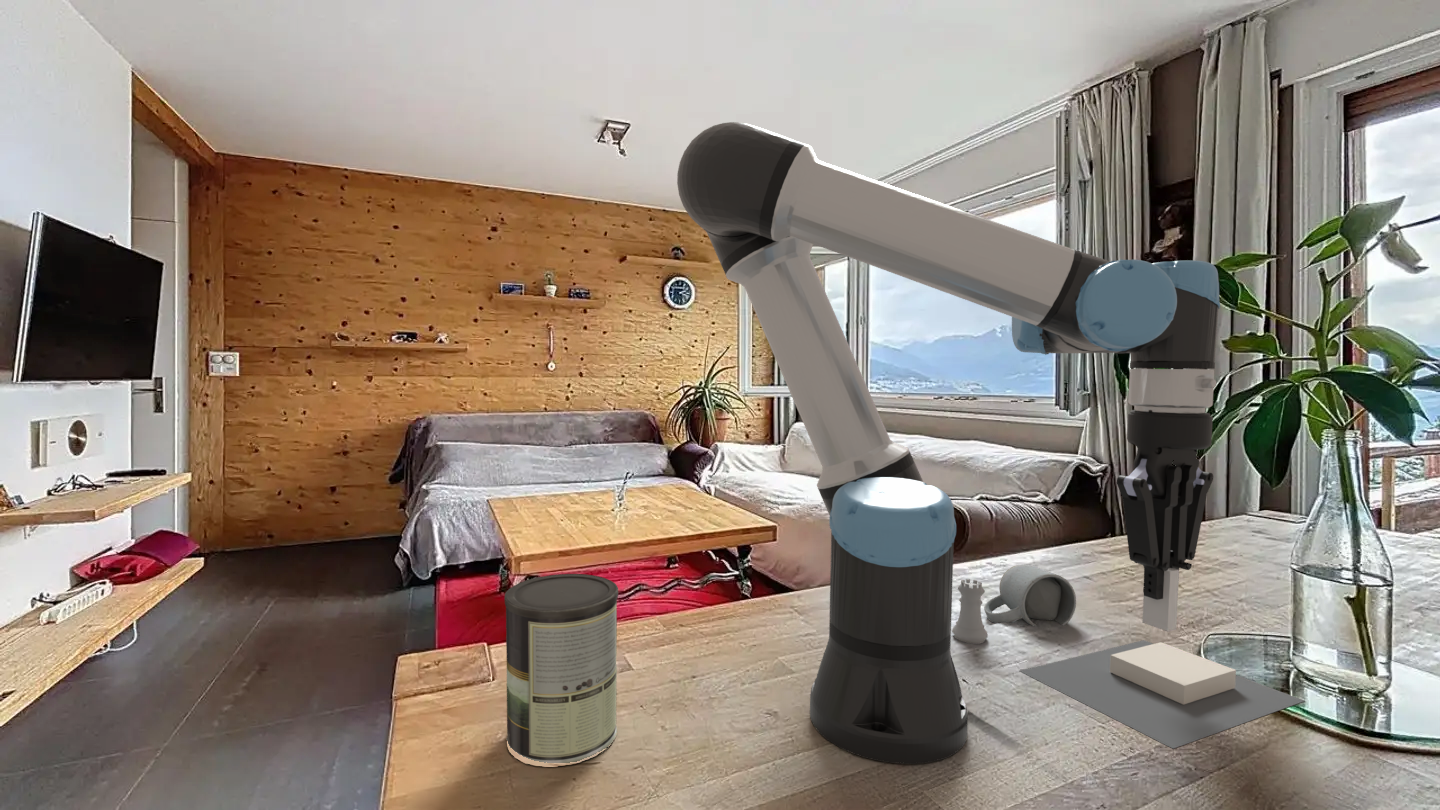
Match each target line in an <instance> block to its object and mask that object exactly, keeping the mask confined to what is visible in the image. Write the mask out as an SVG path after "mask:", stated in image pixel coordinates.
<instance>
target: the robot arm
mask: <svg viewBox="0 0 1440 810" xmlns="http://www.w3.org/2000/svg"><path fill="white" fill-rule="evenodd" d="M814 151H815V150H814V149H813V147H812V146H811V145H809V144H807V143H804V142H800V141H798V140H794V139H793V138H789V137H787V136H784V135H781V134H779V133H776V132H774V131H770V130H767V129H764V128H761V127H759V126H755V125H752V124H749V123H745V122H739V121H736V122H735V121H731V122H722V123H719V124H714V125H712V126H710V127H708V128H706V129H704V130H702V131H701V132H700V133H699V134H698V135H697V136H695V137H694V138H693V139H691V141H690V142H689V144H688V146H686V149H685V150H684V152H683V154H682V155H681V158H680V160H679V164H678V170H677V177H676V178H677V181H676V183H677V184H676V185H677V189H678V195H679V198H680V201H681V205H682V206H683V208H684V210H685V212H686V213H687V214H688V216H689V217H690V218H691V219H692V221H694V222H695V224H697V226H699V227H700V228H701V229H702V230H704V231H705V233H706V234H707V236H708V238H709V240H710V242H711V244H712V247H713V249H714V251H715V253H716V257H717V258H718V261H719V263H720V265H721V268H722V270H723V272H724V274H725V275H724V276H725V277H726V279H727V281H728V280H729V281H731V282H734V283H737V284H739V285H741V286H743V287H744V289H745V291H746V293H747V296H748V299H749V301H750V304H751V305H752V308H753V310H754V313H755V314H756V318H757V319H758V322H759V324H760V326H761V329H762V331H763V332H764V335H765V338H766V339H767V342H768V344H769V347H770V350H771V351H772V354H773V356H774V358H775V360H776V363H777V365H778V368H779V369H780V373H781V374H782V376H783V377H782V378H783V379H784V381H785V383H786V386H787V388H788V390H789V393H790V395H791V398H792V400H793V403H794V404H795V407H796V409H797V412H798V414H799V415H800V416H799V417H800V418H801V421H802V423H803V425H804V427H805V430H806V433H807V434H808V437H809V440H810V441H811V444H812V446H813V448H814V451H815V453H816V456H817V457H818V460H819V462H820V465H821V466H822V467H821V468H822V469H821V473H820V475H819V478H818V481H817V484H816V486H817V487H816V488H817V489H818V492H819V493H820V497H821V500H822V501H823V503H824V506H825V508H826V511H827V513H828V515H829V518H828V520H829V522H828V523H829V528H830V530H831V531H830V533H831V534H830V535H831V536H830V573H829V574H830V577H829V578H830V579H829V580H830V581H829V582H830V584H829V623H828V624H829V627H828V630H829V631H828V641H827V645H826V646H825V649H824V652H823V655H822V658H821V661H820V664H819V668H818V671H817V673H816V677H815V680H814V681H813V683H812V686H811V687H810V694H809V695H810V699H809V702H810V704H809V717H810V720H811V723H812V725H813V726H814V728H815V729H816V731H817V732H818V733H819V734H821V736H822V737H824V738H825V739H826V740H827V741H829V742H830V743H832V745H835V746H837V747H838V748H841V749H842V750H844V751H845V752H846V751H847V752H849V753H851V754H854V755H857V756H859V757H862V758H865V759H870V760H873V761H874V760H875V761H879V762H885V763H892V764H903V765H904V764H907V765H908V764H909V765H910V764H911V765H912V764H925V763H932V762H936V761H941V760H944V759H946V758H948V757H951V756H953V755H954V754H956V753H957V752H959V751H960V750H961V749H962V748H963V746H964V745H965V743H966V741H967V738H968V720H969V719H968V718H969V714H968V707H967V704H966V700H965V699H964V697H963V694H962V693H963V692H962V689H961V685H960V681H959V677H958V674H957V671H956V667H955V663H954V661H953V658H952V652H951V640H952V639H951V637H952V636H951V635H952V634H951V633H952V610H953V609H952V608H953V607H952V606H953V604H952V601H953V576H954V575H953V573H954V572H953V570H954V543H955V538H956V536H957V523H956V518H955V508H954V504H953V501H952V499H951V498H950V497H949V495H948V494H947V493H946V492H945V491H943V490H942V489H940V488H939V487H936V486H934V485H928V484H927V483H926V482H924V480H923V478H922V475H921V473H920V471H919V468H918V466H917V464H916V463H915V460H914V459H913V456H912V453H911V451H910V449H909V448H908V447H906V446H905V445H902V444H899V443H897V442H894V441H893V440H891V439H890V436H889V434H888V432H887V429H886V426H885V425H884V423H883V420H882V417H881V416H880V414H879V411H878V409H877V407H876V404H875V402H874V400H873V398H872V397H873V396H871V393H870V391H869V389H868V388H869V387H867V386H868V385H867V384H866V382H865V379H864V376H863V374H862V372H861V371H860V368H859V365H858V363H857V360H856V359H855V355H854V354H853V352H852V350H851V347H850V345H849V343H848V340H847V339H846V336H845V333H844V331H843V329H842V327H841V324H840V323H839V320H838V317H837V315H836V313H835V310H834V309H833V306H832V304H831V301H830V299H829V297H828V295H827V293H826V291H825V288H824V286H823V284H822V281H821V279H820V276H819V273H817V270H816V268H815V266H814V263H813V261H812V258H811V257H810V256H811V251H812V248H813V246H814V245H816V246H818V247H820V248H823V249H826V250H828V251H831V252H835V253H837V254H840V255H842V256H845V257H848V258H851V259H853V260H856V261H859V262H862V263H864V264H867V265H869V266H872V267H874V268H875V267H876V268H878V269H880V270H883V271H886V272H889V273H891V274H895V275H897V276H900V277H903V278H905V279H908V280H911V281H913V282H916V283H919V284H921V285H924V286H927V287H930V288H932V289H935V290H938V291H940V292H944V293H946V294H949V295H951V296H954V297H957V298H959V299H962V300H965V301H967V302H971V303H973V304H976V305H979V306H982V307H984V308H987V309H990V310H992V311H996V312H999V313H1000V314H1003V315H1006V316H1008V317H1011V336H1012V342H1013V345H1014V347H1015V348H1016V349H1017V350H1018V351H1019V352H1022V353H1030V354H1033V353H1034V354H1035V353H1036V354H1042V355H1045V356H1046V355H1049V354H1111V353H1112V354H1129V355H1130V362H1129V381H1128V397H1127V403H1128V404H1129V405H1130V406H1133V407H1134V408H1133V409H1132V410H1130V411H1129V412H1128V413H1127V429H1126V430H1127V431H1126V439H1127V442H1128V443H1129V444H1131V445H1134V446H1136V448H1137V452H1136V455H1135V457H1134V458H1135V459H1134V460H1133V469H1134V470H1133V471H1132V472H1131V473H1130V474H1129V475H1121V474H1120V475H1118V476H1117V478H1116V485H1117V487H1118V489H1119V492H1120V494H1121V497H1122V505H1123V506H1122V507H1123V512H1124V522H1125V530H1126V532H1125V533H1126V538H1127V548H1128V554H1129V560H1130V561H1132V562H1134V563H1135V564H1138V565H1142V566H1143V584H1142V585H1143V590H1142V591H1143V598H1142V599H1143V600H1142V601H1143V602H1142V603H1143V604H1142V620H1141V621H1142V624H1145V625H1148V626H1150V627H1154V628H1156V629H1159V630H1162V631H1165V632H1172V631H1176V630H1177V622H1178V621H1177V618H1178V599H1179V597H1178V596H1179V584H1180V583H1179V582H1180V581H1179V580H1180V579H1179V578H1180V569H1182V570H1186V571H1190V569H1191V568H1192V566H1193V563H1190V562H1185V561H1186V560H1187V561H1193V560H1194V558H1195V556H1196V551H1197V546H1198V541H1199V536H1200V532H1201V526H1202V522H1203V517H1204V510H1205V505H1206V500H1207V496H1208V492H1209V490H1210V487H1211V485H1212V483H1213V482H1214V474H1213V473H1212V472H1211V471H1209V472H1208V471H1203V470H1201V468H1200V458H1199V455H1198V456H1196V454H1198V450H1205V449H1208V448H1209V447H1210V446H1212V438H1213V437H1212V435H1213V434H1212V433H1213V419H1214V418H1213V416H1211V413H1210V412H1206V409H1208V408H1211V407H1212V406H1213V405H1214V388H1215V387H1216V386H1217V380H1216V379H1215V369H1216V368H1215V367H1216V362H1215V359H1216V358H1215V357H1216V345H1217V344H1216V343H1217V334H1218V333H1217V332H1218V321H1219V310H1220V308H1221V302H1220V282H1219V273H1218V268H1216V266H1215V265H1214V264H1213V263H1210V262H1208V261H1204V260H1191V259H1190V260H1188V259H1187V260H1174V261H1173V260H1172V261H1160V262H1159V261H1158V262H1153V263H1151V262H1149V261H1145V260H1141V259H1118V260H1111V261H1110V260H1107V259H1104V258H1102V257H1098V256H1095V255H1092V254H1089V253H1086V252H1083V251H1079V250H1076V249H1073V248H1071V247H1068V246H1065V245H1062V244H1060V243H1056V242H1053V241H1050V240H1048V239H1045V238H1042V237H1039V236H1036V235H1034V234H1031V233H1028V232H1025V231H1023V230H1019V229H1017V228H1014V227H1011V226H1007V225H1005V224H1002V223H999V222H996V221H994V220H991V219H988V218H985V217H982V216H979V215H976V214H973V213H971V212H968V211H964V210H962V209H959V208H956V207H953V206H951V205H947V204H945V203H942V202H939V201H936V200H933V199H931V198H927V197H924V196H922V195H919V194H917V193H916V194H915V193H912V192H910V191H907V190H904V189H901V188H899V187H895V186H893V185H890V184H887V183H884V182H882V181H878V180H876V179H872V178H869V177H866V176H865V175H861V174H858V173H855V172H853V171H851V170H847V169H844V168H841V167H840V166H839V167H838V166H836V165H834V164H833V165H832V164H830V163H826V162H824V161H822V160H820V159H818V158H817V156H816V153H815V152H814ZM1197 457H1198V458H1199V459H1196V458H1197ZM1173 460H1174V461H1173ZM1172 461H1173V465H1176V466H1173V465H1172Z"/></svg>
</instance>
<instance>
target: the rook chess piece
mask: <svg viewBox="0 0 1440 810" xmlns="http://www.w3.org/2000/svg"><path fill="white" fill-rule="evenodd" d="M957 590H958V592H959V593H960V597H959V598H958V599H959V603H960V610H959V615H958V616H959V617H958V619H957V620H956V622H955V625H953V626H952V629H951V633H953V636H954V638H955V639H956V640H958V641H959V642H963V643H967V644H974V645H975V644H977V645H978V644H984V642H986V639H987V638H988V636H989V635H988V631H987V630H986V628H985V625H984V623H983V620H982V611H981V609H982V607H981V606H982V605H983V601H982V596H983V595H984V594H985V589H984V588H983V584H982V581H978V580H976V579H973V580H972V582H971V579H970V578H966V579H961V581H960V584H959V585H958V587H957Z"/></svg>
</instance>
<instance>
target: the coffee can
mask: <svg viewBox="0 0 1440 810" xmlns="http://www.w3.org/2000/svg"><path fill="white" fill-rule="evenodd" d="M618 597H619V587H618V585H617V584H616V583H615V582H614V581H612V580H611V579H609V578H605V577H604V576H599V575H592V574H586V573H559V574H556V573H555V574H548V575H543V576H539V577H533V578H530V579H527V580H524V581H521V582H519V583H517V584H515V585H513V586H511V587H510V588H508V590H507V591H505V593H504V605H505V621H506V622H505V629H506V630H505V631H506V634H505V635H506V637H505V639H506V644H505V645H506V646H505V648H506V740H507V741H508V744H509V746H510V748H512V749H513V750H514V751H515V752H517V753H518V754H519V755H522V756H523V757H526V758H528V759H531V760H534V761H539V762H544V763H546V762H547V763H570V762H577V761H580V760H582V759H584V758H587V757H590V756H592V755H594V754H596V753H597V752H600V751H602V750H603V749H605V748H606V747H608V746H609V745H610V744H611V743H612V742H613V743H614V741H615V740H614V739H616V737H617V735H616V733H617V734H618V727H617V695H618V693H617V652H618V651H617V648H618V646H617V641H618V640H617V636H618V635H617V632H618V630H617V629H618V627H617V625H618V622H617V621H618V620H617V619H618V616H617V615H618V614H617V609H618V607H617V602H618V601H617V600H618ZM615 736H616V737H615ZM613 740H614V741H613ZM613 743H612V744H613ZM612 744H611V745H612ZM608 748H609V747H608Z"/></svg>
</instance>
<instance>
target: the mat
mask: <svg viewBox="0 0 1440 810" xmlns="http://www.w3.org/2000/svg"><path fill="white" fill-rule="evenodd" d="M1152 644H1154V643H1152V642H1150V641H1148V640H1145V639H1143V640H1138V641H1134V642H1130V643H1127V644H1123V645H1119V646H1114V647H1109V648H1106V649H1103V650H1098V651H1094V652H1091V653H1086V654H1082V655H1078V656H1074V657H1071V658H1066V659H1062V660H1061V659H1060V660H1058V661H1053V662H1050V663H1046V664H1042V665H1037V666H1034V667H1030V668H1025V669H1021V670H1019V672H1020V673H1022V674H1024V675H1026V676H1028V677H1029V678H1031V679H1034V680H1036V681H1038V682H1040V683H1042V684H1043V685H1046V686H1047V687H1050V688H1051V689H1053V690H1055V691H1058V693H1059V692H1060V693H1062V694H1063V695H1065V696H1067V697H1069V698H1071V699H1073V700H1076V701H1078V702H1079V703H1081V704H1083V705H1085V706H1087V707H1089V708H1091V709H1092V710H1095V711H1097V712H1099V713H1101V714H1103V715H1105V716H1106V717H1109V718H1110V719H1111V718H1112V719H1113V720H1115V721H1117V722H1118V723H1121V724H1123V725H1125V726H1126V727H1129V728H1131V729H1132V730H1134V731H1137V732H1139V733H1141V734H1143V735H1144V736H1146V737H1149V738H1150V739H1152V740H1155V741H1157V742H1158V743H1161V744H1162V745H1164V746H1166V747H1168V748H1170V749H1172V750H1175V749H1177V748H1180V747H1182V746H1185V745H1188V744H1191V743H1194V742H1196V741H1199V740H1201V739H1204V738H1208V737H1211V736H1212V735H1215V734H1218V733H1222V732H1224V731H1227V730H1229V729H1232V728H1236V727H1237V726H1240V725H1243V724H1245V723H1248V722H1252V721H1254V720H1257V719H1259V718H1263V717H1265V716H1268V715H1271V714H1273V713H1276V712H1279V711H1282V710H1285V709H1287V708H1290V707H1293V706H1295V705H1298V704H1301V703H1304V702H1305V700H1304V699H1301V698H1299V697H1297V696H1294V695H1291V694H1288V693H1285V692H1282V691H1281V690H1277V689H1275V688H1272V687H1269V686H1266V685H1264V684H1262V683H1259V682H1256V681H1254V680H1251V679H1248V678H1245V677H1243V676H1240V675H1238V674H1236V680H1235V688H1234V689H1231V690H1227V691H1224V692H1221V693H1218V694H1215V695H1212V696H1209V697H1206V698H1203V699H1199V700H1196V701H1193V702H1190V703H1187V704H1184V705H1183V704H1181V703H1179V702H1176V701H1174V700H1172V699H1170V698H1167V697H1165V696H1163V695H1160V694H1158V693H1156V692H1154V691H1151V690H1149V689H1147V688H1145V687H1142V686H1140V685H1138V684H1136V683H1133V682H1131V681H1129V680H1127V679H1124V678H1122V677H1120V676H1117V675H1115V674H1113V673H1111V672H1110V658H1111V655H1112V654H1116V653H1120V652H1124V651H1128V650H1132V649H1136V648H1140V647H1144V646H1148V645H1152Z"/></svg>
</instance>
